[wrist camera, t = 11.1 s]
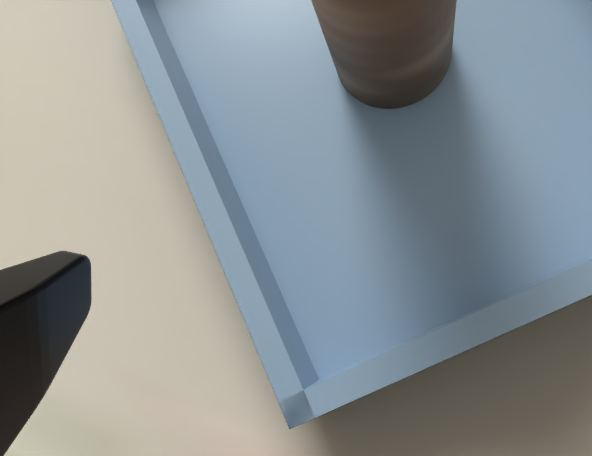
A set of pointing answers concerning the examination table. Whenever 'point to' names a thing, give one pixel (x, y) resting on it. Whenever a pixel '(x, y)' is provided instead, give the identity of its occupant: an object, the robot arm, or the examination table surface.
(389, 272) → the pin tray
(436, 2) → the pin
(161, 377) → the examination table surface
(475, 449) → the examination table surface
